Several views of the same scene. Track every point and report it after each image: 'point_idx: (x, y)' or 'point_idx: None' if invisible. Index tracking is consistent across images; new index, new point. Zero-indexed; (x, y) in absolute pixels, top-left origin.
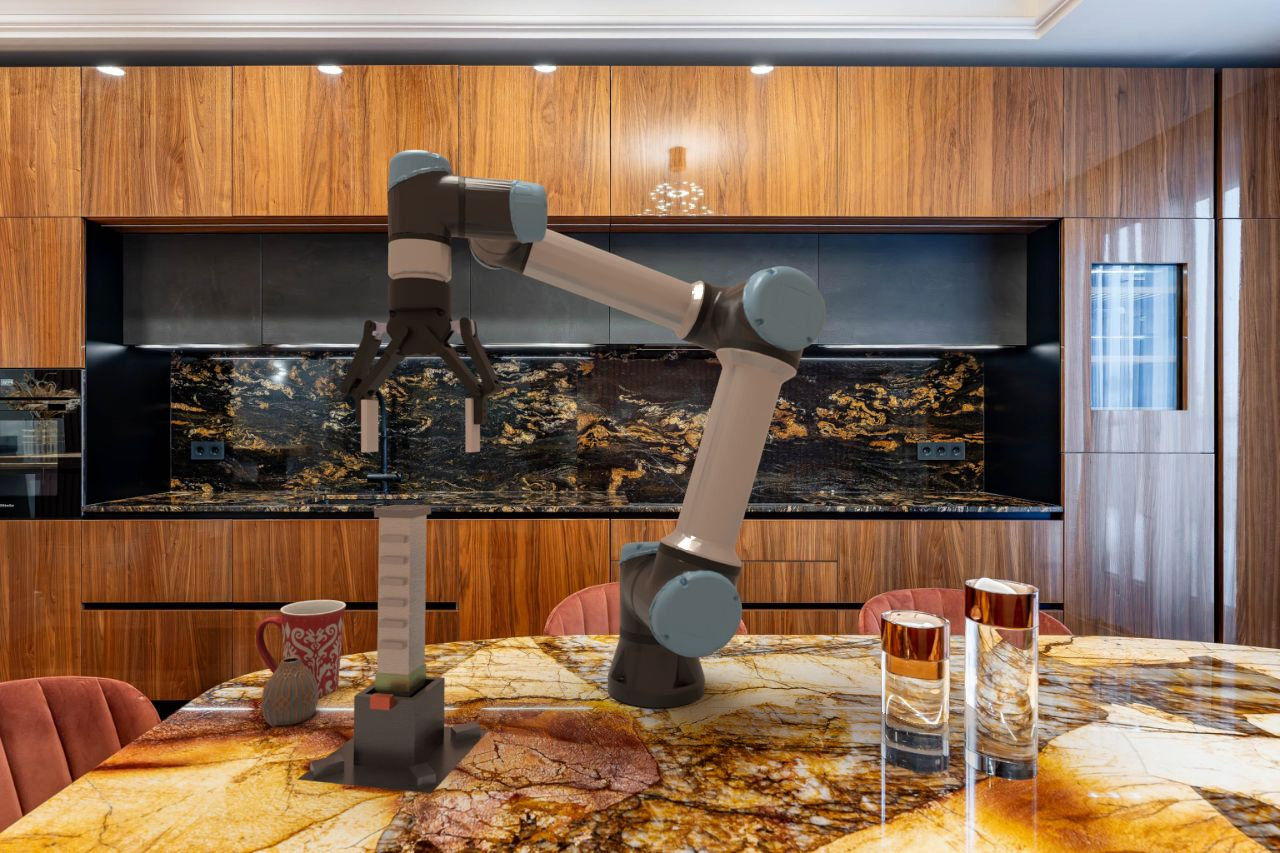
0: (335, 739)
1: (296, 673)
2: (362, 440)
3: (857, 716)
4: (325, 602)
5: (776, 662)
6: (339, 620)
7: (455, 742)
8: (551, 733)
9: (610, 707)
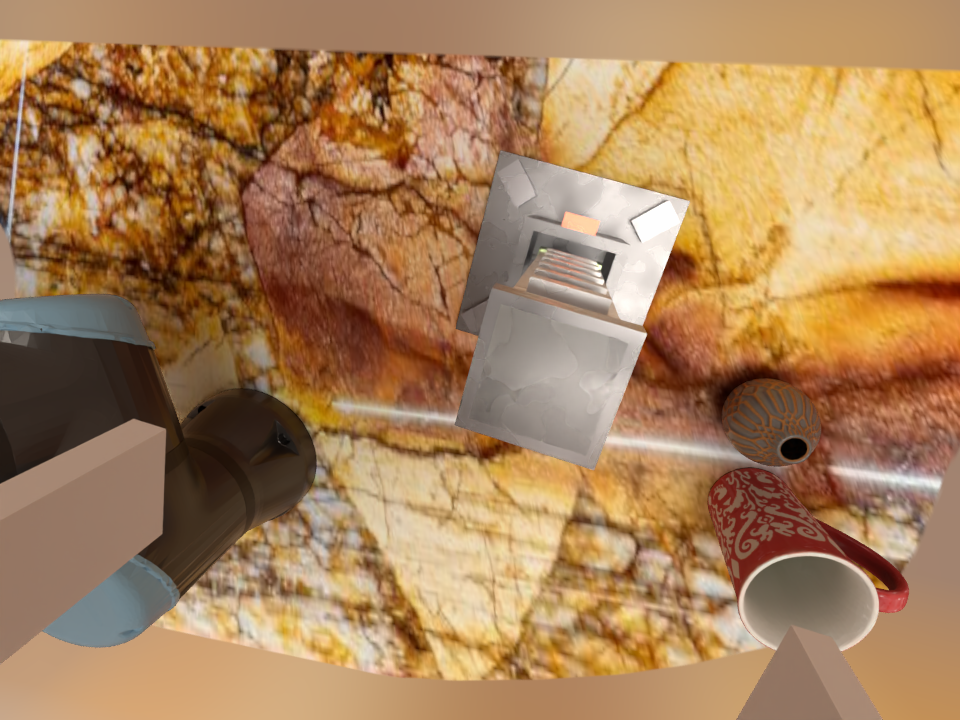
0: (671, 345)
1: (771, 422)
2: (867, 707)
3: None
4: None
5: None
6: (738, 570)
7: None
8: (378, 331)
9: (309, 402)
